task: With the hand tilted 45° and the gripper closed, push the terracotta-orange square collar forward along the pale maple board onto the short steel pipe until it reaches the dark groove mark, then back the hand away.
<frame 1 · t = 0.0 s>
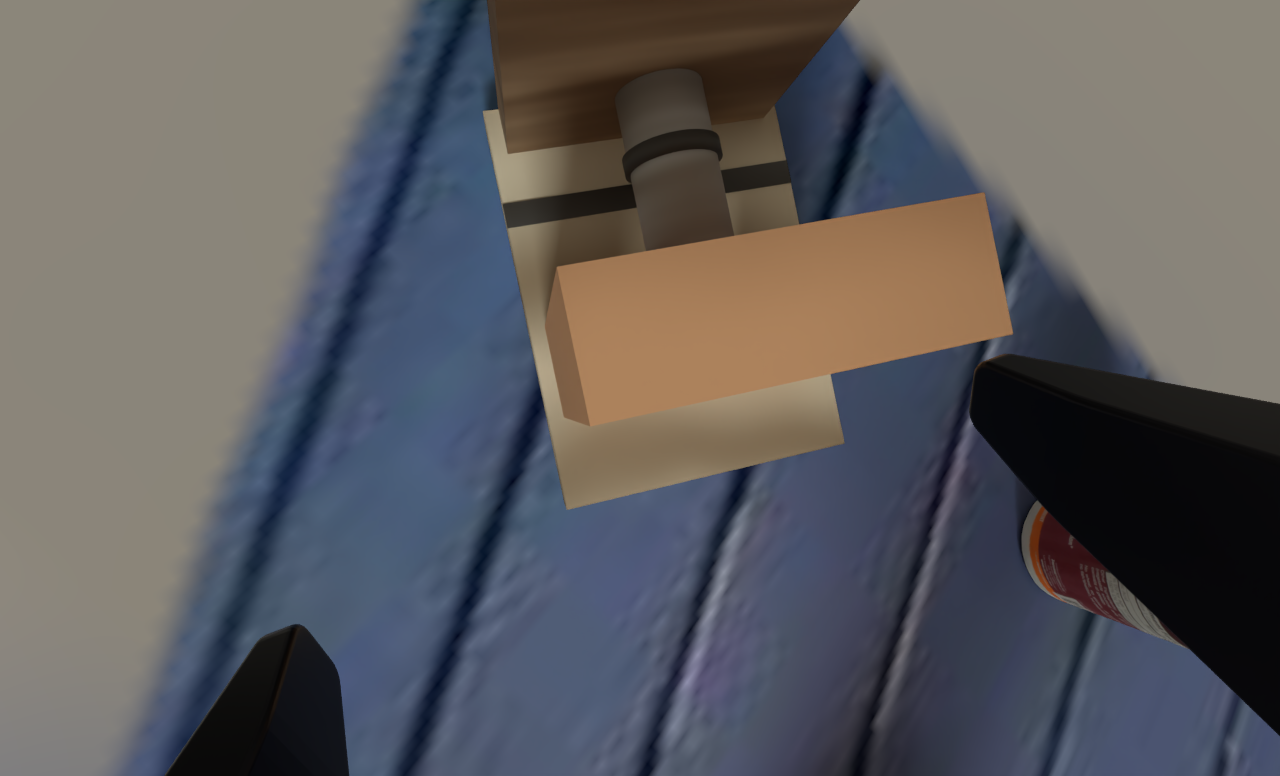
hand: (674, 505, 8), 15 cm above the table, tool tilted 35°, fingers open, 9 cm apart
pill bottle: (1064, 540, 26), on the table
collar: (728, 329, 17), point 6 cm above the table, slide at 0.0 cm
pipe board: (682, 390, 24), on the table
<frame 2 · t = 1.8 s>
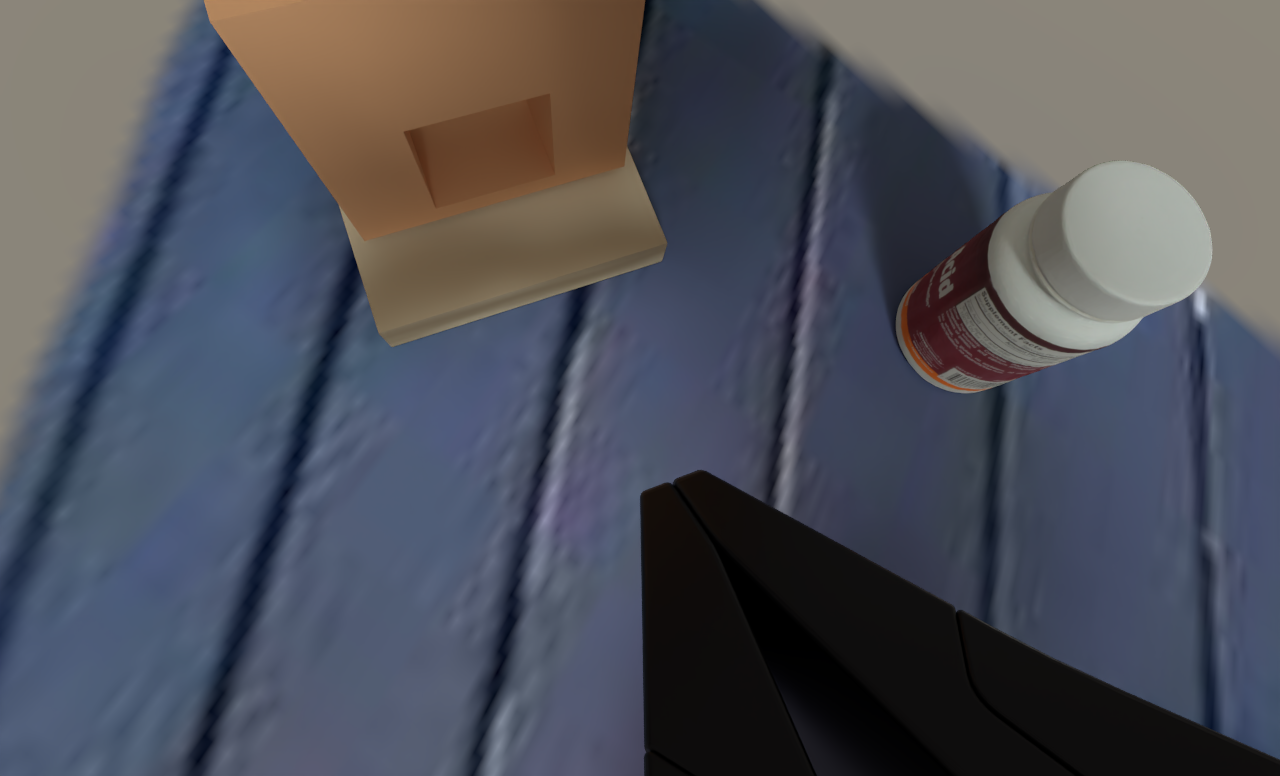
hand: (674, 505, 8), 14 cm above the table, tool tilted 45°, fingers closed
pill bottle: (949, 335, 24), on the table
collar: (461, 69, 18), point 6 cm above the table, slide at 0.0 cm
pipe board: (505, 229, 24), on the table
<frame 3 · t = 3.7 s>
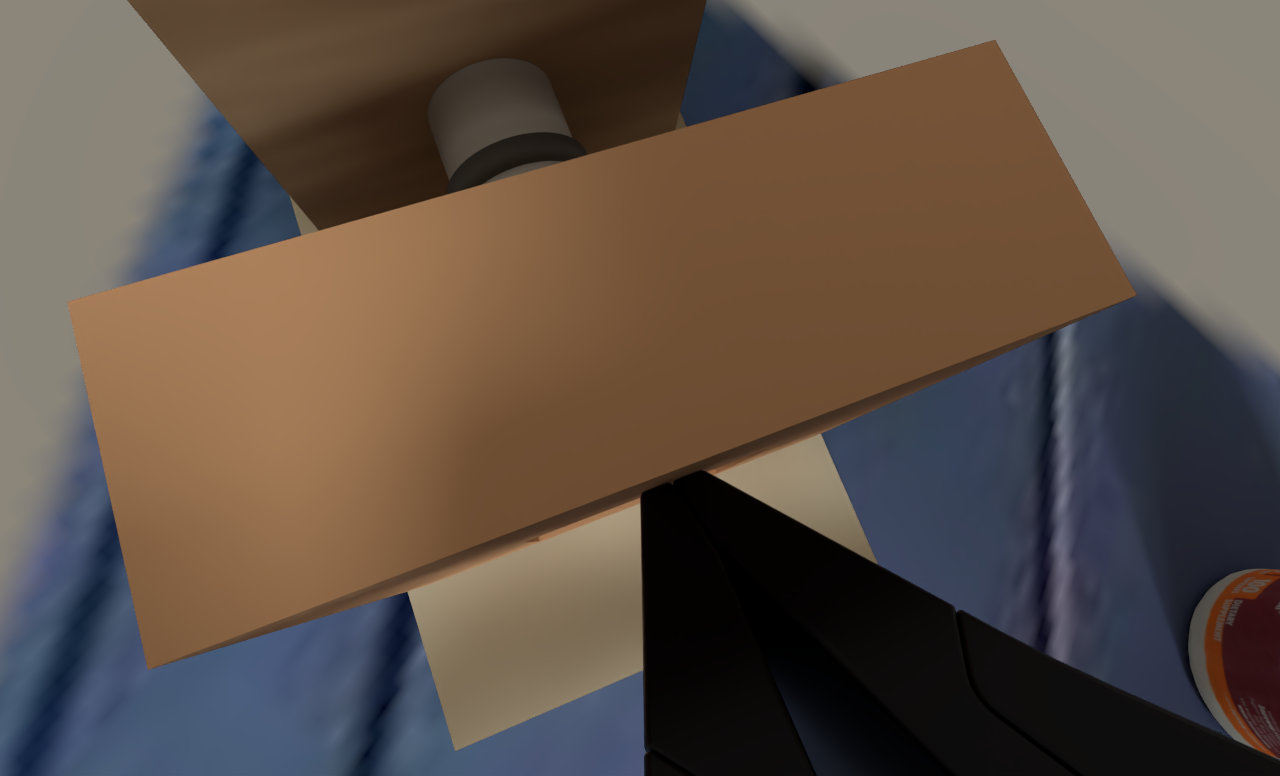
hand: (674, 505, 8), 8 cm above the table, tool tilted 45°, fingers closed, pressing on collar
pill bottle: (1256, 660, 17), on the table
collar: (616, 403, 10), point 6 cm above the table, slide at 0.3 cm, touching gripper
pipe board: (626, 524, 16), on the table
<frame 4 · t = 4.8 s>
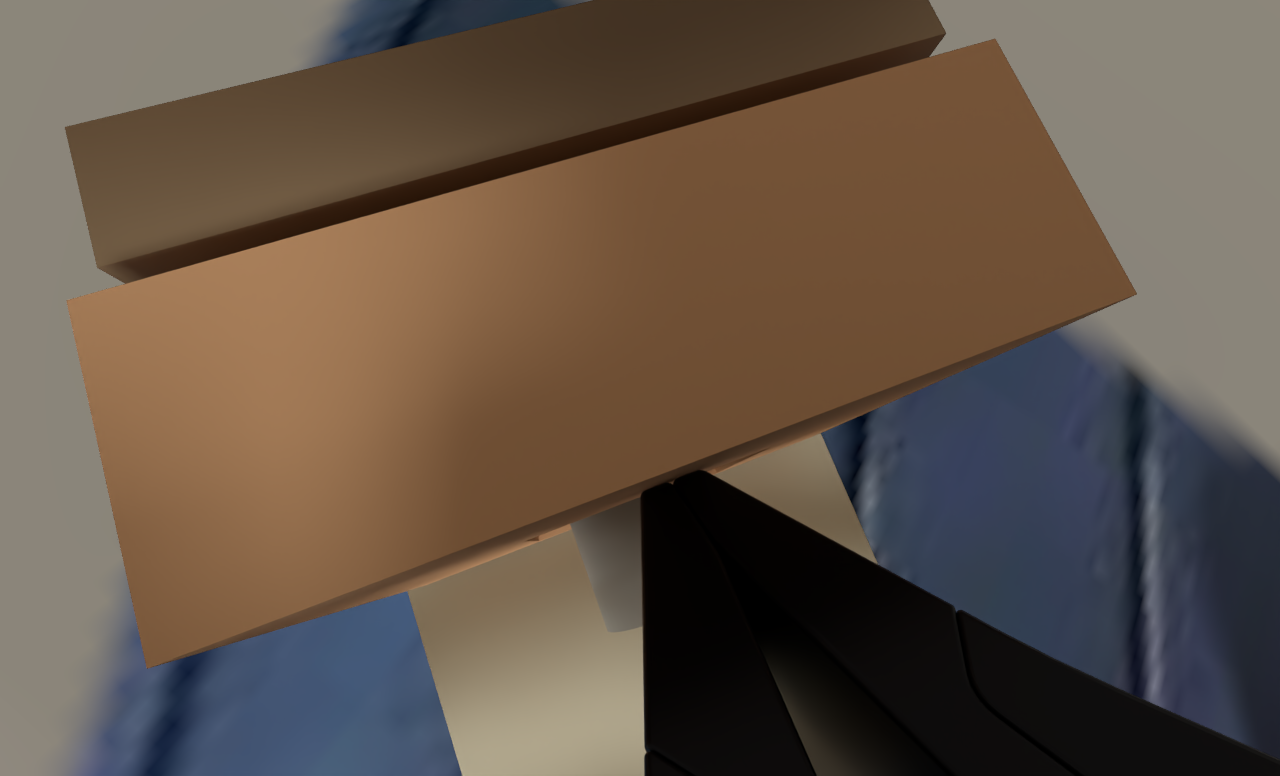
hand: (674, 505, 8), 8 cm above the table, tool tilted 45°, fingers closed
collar: (616, 402, 10), point 6 cm above the table, slide at 5.3 cm
pipe board: (700, 725, 15), on the table
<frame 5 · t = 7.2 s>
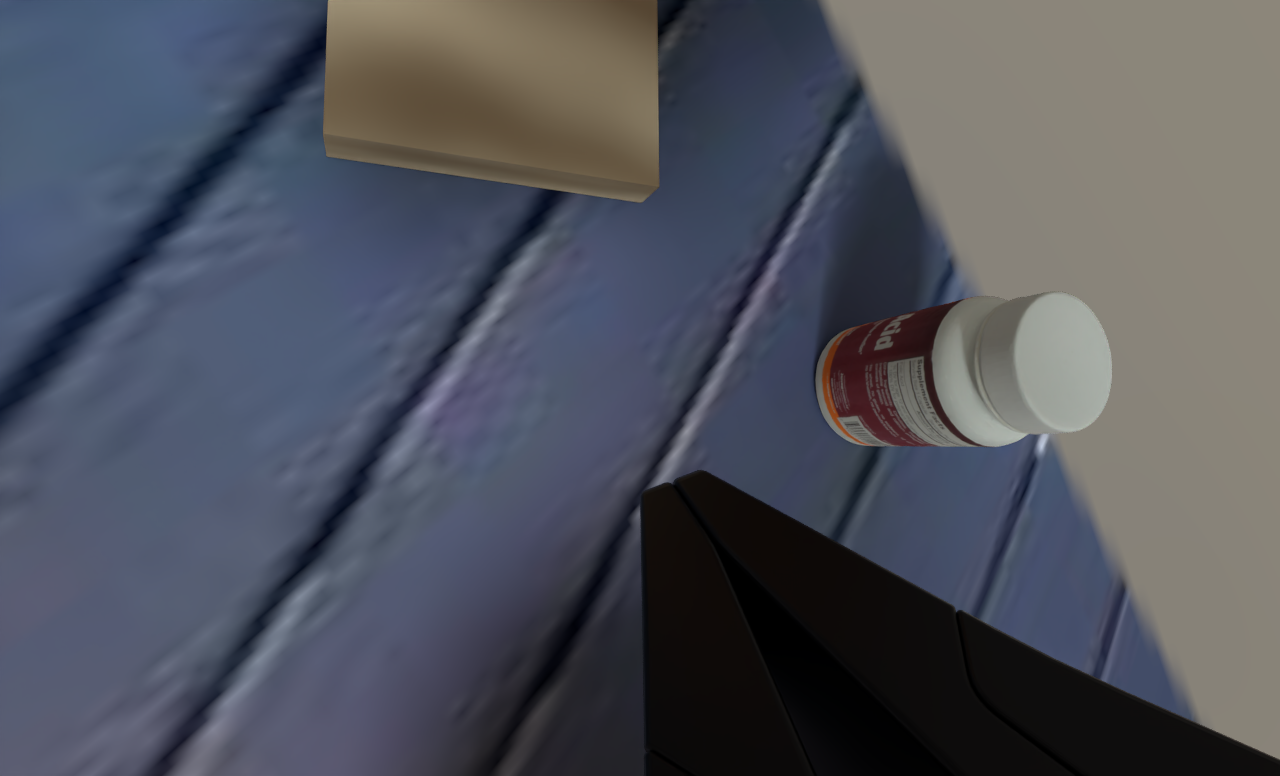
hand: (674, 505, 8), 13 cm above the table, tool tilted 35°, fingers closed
pill bottle: (855, 386, 26), on the table
pipe board: (499, 92, 21), on the table
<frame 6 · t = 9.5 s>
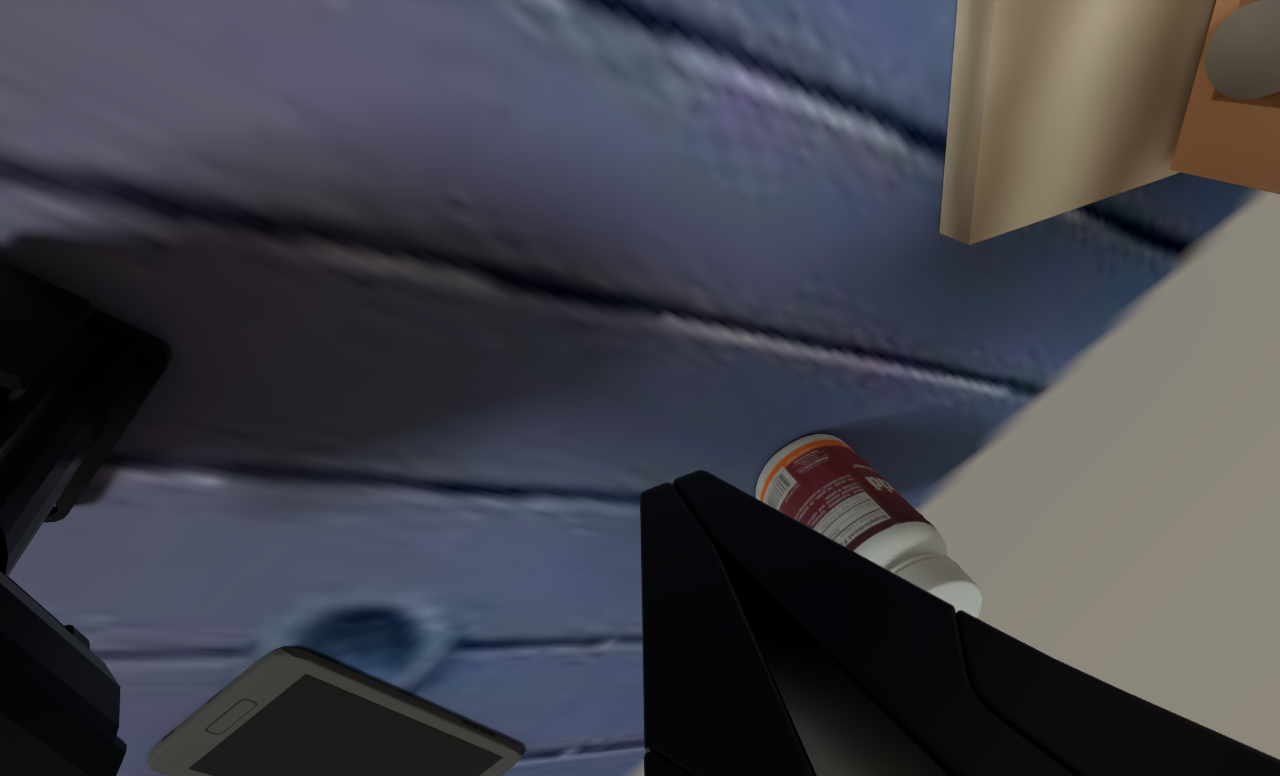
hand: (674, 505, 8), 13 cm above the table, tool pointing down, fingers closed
cell phone: (360, 740, 28), on the table
pill bottle: (799, 472, 28), on the table
pipe board: (1026, 66, 22), on the table
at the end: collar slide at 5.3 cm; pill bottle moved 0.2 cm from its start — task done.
